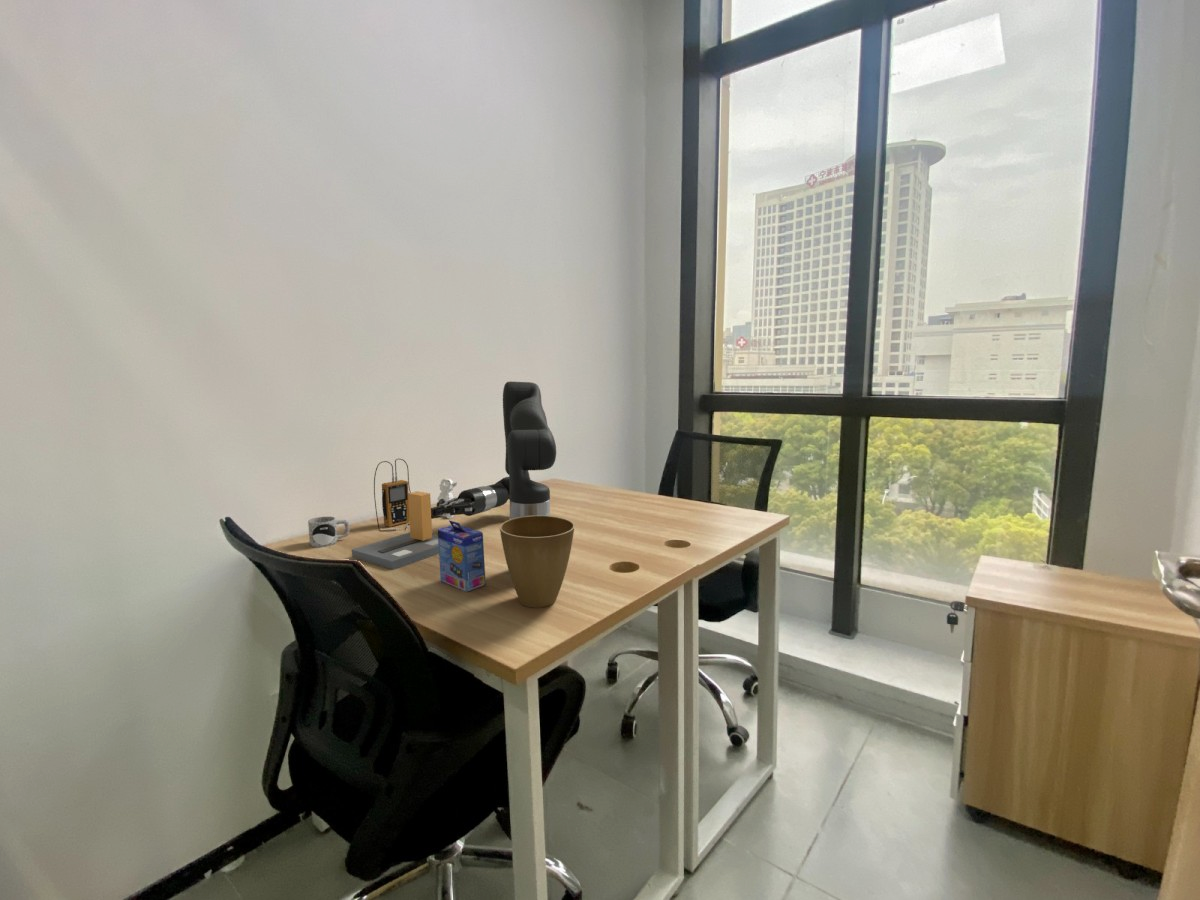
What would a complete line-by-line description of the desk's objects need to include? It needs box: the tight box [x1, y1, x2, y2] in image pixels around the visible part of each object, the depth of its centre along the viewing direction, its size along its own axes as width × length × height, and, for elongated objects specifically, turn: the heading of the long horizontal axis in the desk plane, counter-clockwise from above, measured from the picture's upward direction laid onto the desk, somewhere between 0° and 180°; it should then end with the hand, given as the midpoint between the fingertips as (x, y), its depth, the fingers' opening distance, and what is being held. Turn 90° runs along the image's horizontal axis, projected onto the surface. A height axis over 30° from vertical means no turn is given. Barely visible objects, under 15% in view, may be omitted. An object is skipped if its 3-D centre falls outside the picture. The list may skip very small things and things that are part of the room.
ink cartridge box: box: [437, 519, 487, 593], centre depth 122 cm, size 10×6×14 cm, turn 51°
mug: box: [307, 516, 350, 548], centre depth 152 cm, size 10×7×7 cm, turn 126°
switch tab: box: [408, 491, 433, 541], centre depth 147 cm, size 5×3×12 cm, turn 57°
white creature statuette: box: [437, 477, 458, 520], centre depth 180 cm, size 10×9×12 cm
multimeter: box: [373, 458, 412, 532], centre depth 166 cm, size 15×10×20 cm
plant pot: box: [499, 515, 575, 608], centre depth 113 cm, size 15×15×16 cm
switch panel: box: [351, 531, 439, 570], centre depth 144 cm, size 16×20×2 cm
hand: (430, 512), depth 150 cm, fingers closed
